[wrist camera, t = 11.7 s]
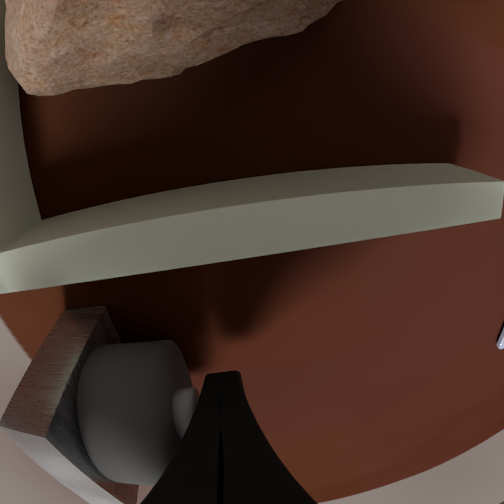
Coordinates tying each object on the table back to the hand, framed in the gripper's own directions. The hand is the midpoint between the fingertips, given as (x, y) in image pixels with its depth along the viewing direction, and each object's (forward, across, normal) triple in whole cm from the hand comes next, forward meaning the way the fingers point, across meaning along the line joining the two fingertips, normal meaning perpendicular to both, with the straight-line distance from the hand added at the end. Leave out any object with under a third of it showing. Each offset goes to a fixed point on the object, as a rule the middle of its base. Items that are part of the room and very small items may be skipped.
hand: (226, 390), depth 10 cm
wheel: (+2, +4, 0) cm, 4 cm away
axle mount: (+2, +5, 0) cm, 6 cm away
